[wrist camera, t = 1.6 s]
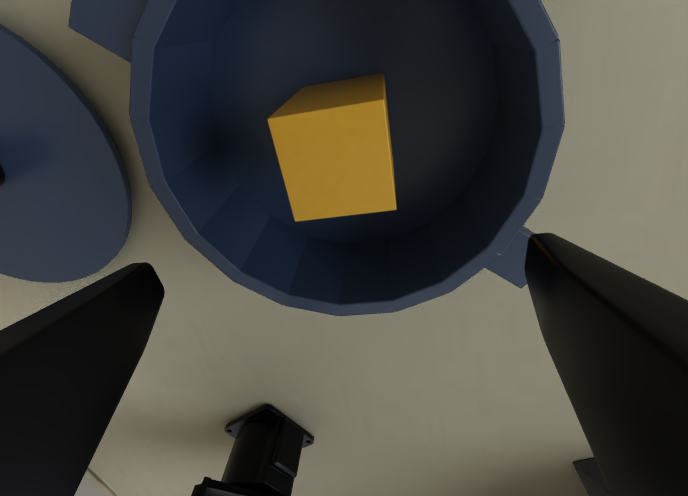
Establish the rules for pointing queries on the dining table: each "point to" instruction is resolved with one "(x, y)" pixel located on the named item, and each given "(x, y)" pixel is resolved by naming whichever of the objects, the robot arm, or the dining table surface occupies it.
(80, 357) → the robot arm
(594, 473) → the juicer
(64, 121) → the lid
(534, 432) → the dining table surface
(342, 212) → the block
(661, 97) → the dining table surface
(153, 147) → the pot
